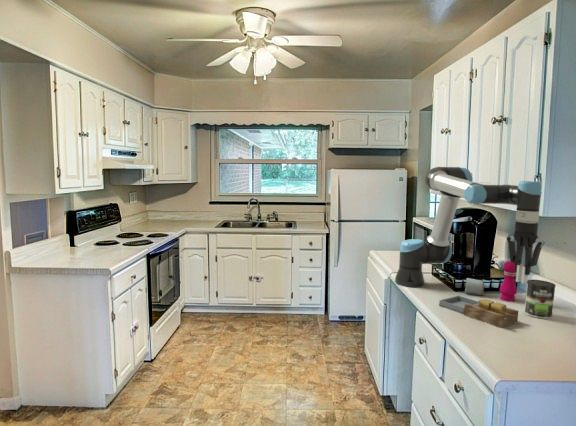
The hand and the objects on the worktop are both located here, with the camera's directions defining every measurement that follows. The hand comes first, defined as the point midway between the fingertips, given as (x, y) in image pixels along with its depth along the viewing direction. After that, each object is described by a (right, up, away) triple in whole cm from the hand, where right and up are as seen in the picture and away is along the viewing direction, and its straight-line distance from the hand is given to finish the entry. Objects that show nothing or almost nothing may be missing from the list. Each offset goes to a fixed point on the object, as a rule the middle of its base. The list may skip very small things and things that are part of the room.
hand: (521, 281), depth 156 cm
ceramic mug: (+2, -14, +46) cm, 48 cm away
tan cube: (-7, -14, +13) cm, 20 cm away
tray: (-13, -15, +25) cm, 32 cm away
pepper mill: (+15, -15, +37) cm, 43 cm away
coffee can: (+17, -17, +17) cm, 30 cm away
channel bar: (-6, -17, +11) cm, 21 cm away
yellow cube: (-5, -14, +8) cm, 17 cm away
